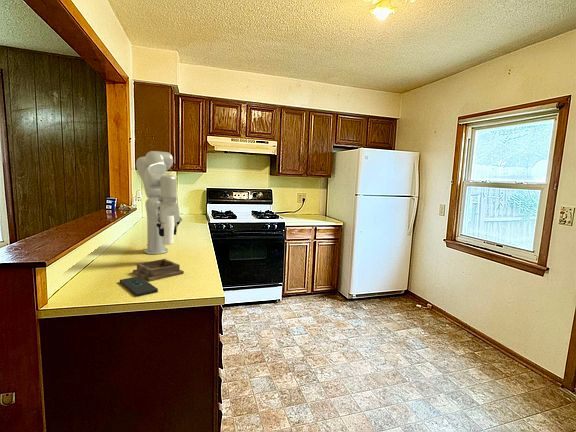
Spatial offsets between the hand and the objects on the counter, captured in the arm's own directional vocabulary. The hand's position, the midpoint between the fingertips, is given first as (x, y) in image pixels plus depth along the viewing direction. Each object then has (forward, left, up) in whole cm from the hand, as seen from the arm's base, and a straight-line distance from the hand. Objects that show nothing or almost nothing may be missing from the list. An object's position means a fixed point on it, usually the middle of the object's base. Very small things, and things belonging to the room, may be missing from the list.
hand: (167, 234), depth 157 cm
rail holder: (+14, -12, -14) cm, 23 cm away
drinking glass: (0, 0, -5) cm, 5 cm away
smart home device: (+25, -26, -15) cm, 39 cm away
